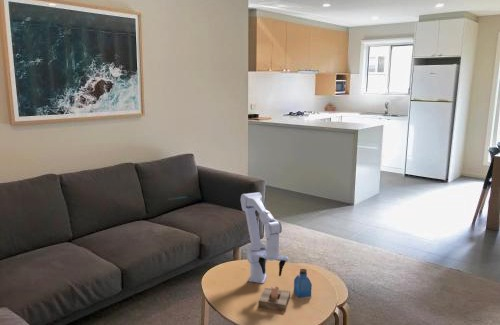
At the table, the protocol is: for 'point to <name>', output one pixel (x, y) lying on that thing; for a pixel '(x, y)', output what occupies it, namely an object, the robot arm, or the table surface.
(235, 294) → the table surface
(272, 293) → the peg
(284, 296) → the socket
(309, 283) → the perfume bottle
